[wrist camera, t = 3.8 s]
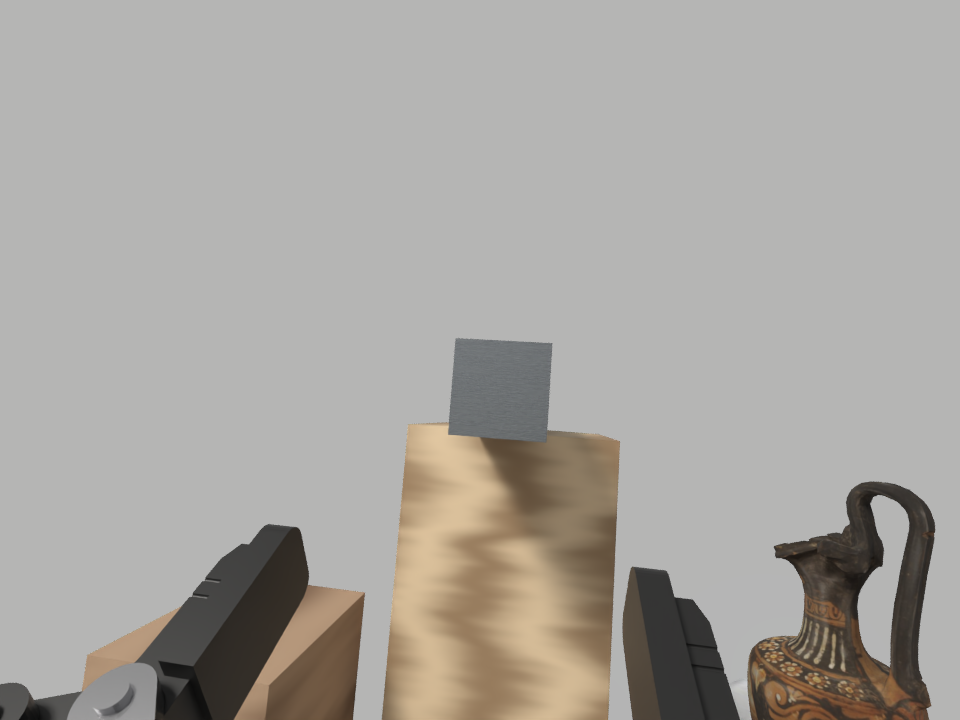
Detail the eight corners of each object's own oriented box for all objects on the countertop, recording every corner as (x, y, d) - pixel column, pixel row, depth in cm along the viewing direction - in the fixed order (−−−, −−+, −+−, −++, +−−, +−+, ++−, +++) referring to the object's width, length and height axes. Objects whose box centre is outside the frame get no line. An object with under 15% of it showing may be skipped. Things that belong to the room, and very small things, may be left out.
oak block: (576, 894, 34) (598, 434, 37) (591, 1117, 23) (620, 441, 27) (410, 859, 36) (446, 422, 39) (352, 1052, 25) (408, 424, 28)
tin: (546, 430, 39) (551, 351, 40) (546, 442, 19) (555, 285, 20) (496, 426, 40) (502, 348, 40) (448, 434, 20) (460, 282, 21)
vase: (803, 794, 45) (803, 467, 48) (985, 927, 34) (970, 488, 37) (714, 830, 40) (721, 464, 43) (891, 999, 29) (883, 488, 32)
